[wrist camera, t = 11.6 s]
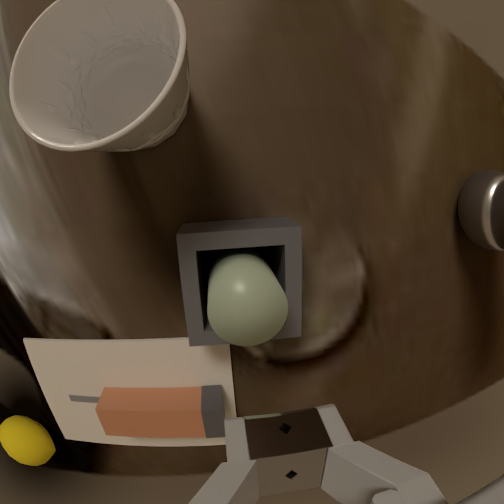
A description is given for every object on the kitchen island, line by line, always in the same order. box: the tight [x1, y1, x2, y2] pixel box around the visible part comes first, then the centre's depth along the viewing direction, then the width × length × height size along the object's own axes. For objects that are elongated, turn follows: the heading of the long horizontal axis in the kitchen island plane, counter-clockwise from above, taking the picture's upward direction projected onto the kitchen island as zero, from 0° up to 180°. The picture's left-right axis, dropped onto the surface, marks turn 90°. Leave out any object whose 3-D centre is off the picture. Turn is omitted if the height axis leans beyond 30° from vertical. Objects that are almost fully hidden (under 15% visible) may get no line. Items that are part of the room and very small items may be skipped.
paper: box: [23, 337, 236, 446], centre depth 24 cm, size 18×12×1 cm, turn 93°
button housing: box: [176, 217, 302, 346], centre depth 21 cm, size 7×7×4 cm
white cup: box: [9, 0, 190, 152], centre depth 14 cm, size 8×8×10 cm
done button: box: [207, 248, 288, 346], centre depth 18 cm, size 4×4×5 cm
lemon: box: [0, 415, 56, 466], centre depth 22 cm, size 7×5×5 cm
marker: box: [95, 385, 225, 438], centre depth 23 cm, size 10×3×3 cm, turn 93°
